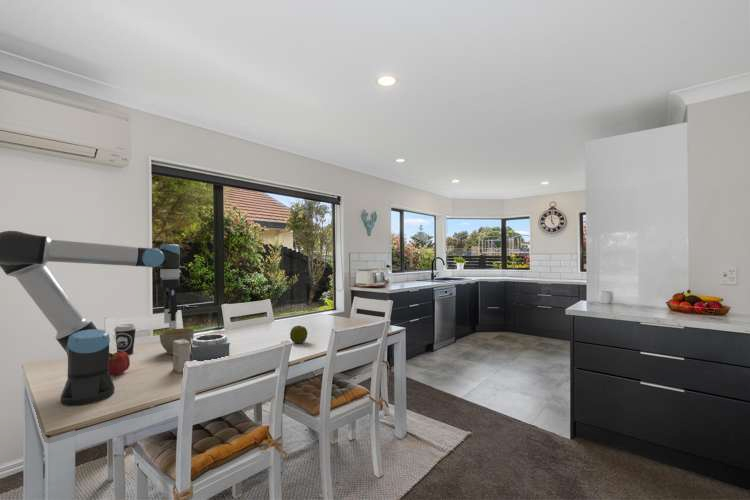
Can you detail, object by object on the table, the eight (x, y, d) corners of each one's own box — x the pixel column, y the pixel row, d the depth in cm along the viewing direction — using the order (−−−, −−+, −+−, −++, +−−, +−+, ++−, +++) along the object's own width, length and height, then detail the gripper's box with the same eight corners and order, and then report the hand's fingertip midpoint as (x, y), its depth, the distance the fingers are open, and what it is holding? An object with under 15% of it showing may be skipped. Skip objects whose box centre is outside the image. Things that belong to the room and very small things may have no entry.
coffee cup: (139, 353, 180) (140, 324, 180) (118, 358, 172) (119, 328, 172) (131, 350, 185) (131, 322, 185) (110, 355, 177) (110, 325, 177)
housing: (229, 359, 172) (230, 338, 172) (192, 364, 163) (192, 343, 163) (224, 349, 189) (224, 330, 190) (189, 353, 181) (189, 334, 181)
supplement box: (190, 371, 154) (190, 341, 154) (178, 373, 150) (178, 343, 151) (183, 367, 160) (184, 338, 160) (172, 369, 156) (172, 340, 156)
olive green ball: (287, 344, 200) (287, 325, 200) (293, 340, 209) (294, 322, 209) (303, 345, 198) (303, 326, 198) (309, 341, 208) (309, 323, 208)
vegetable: (101, 380, 142) (101, 356, 142) (96, 374, 149) (96, 351, 149) (132, 373, 150) (132, 350, 151) (126, 368, 157) (126, 346, 158)
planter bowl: (185, 346, 195) (185, 326, 195) (199, 351, 185) (200, 330, 186) (153, 352, 182) (153, 332, 182) (167, 358, 172) (167, 336, 173)
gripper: (184, 279, 149) (184, 329, 149) (175, 276, 168) (174, 320, 168) (164, 280, 144) (164, 331, 144) (156, 277, 164) (156, 322, 164)
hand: (170, 325), depth 156 cm, fingers open, 13 cm apart
